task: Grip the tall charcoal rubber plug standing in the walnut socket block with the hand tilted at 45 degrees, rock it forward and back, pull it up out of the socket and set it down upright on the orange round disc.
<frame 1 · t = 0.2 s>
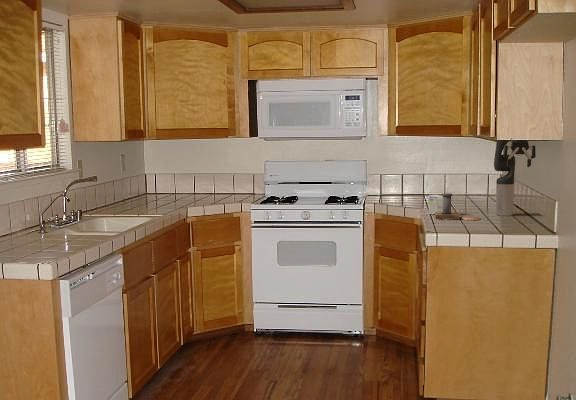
hand: (518, 167, 303), 29 cm above the worktop, tool pointing down, fingers open, 8 cm apart
plug: (446, 206, 340), in the header
orange round disc: (470, 219, 335), on the worktop
header: (446, 218, 340), on the worktop
light bulb box: (439, 214, 357), on the worktop
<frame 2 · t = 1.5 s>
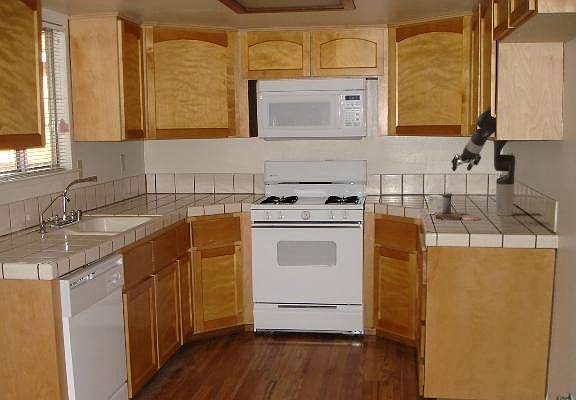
hand: (460, 169, 325), 27 cm above the worktop, tool tilted 45°, fingers open, 8 cm apart
nothing on the worktop moved.
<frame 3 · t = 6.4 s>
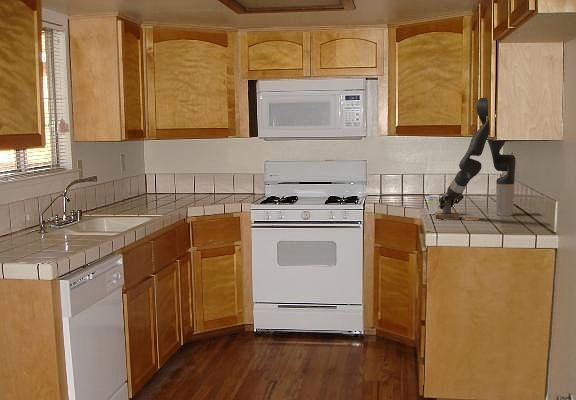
hand: (444, 207, 341), 6 cm above the worktop, tool tilted 45°, fingers closed on plug, 4 cm apart
plug: (446, 206, 340), in the header, touching gripper
everything else where it was.
when the fingers open (8 cm above the worktop, at t = 12.1 s): plug drops 1 cm, resting on orange round disc.
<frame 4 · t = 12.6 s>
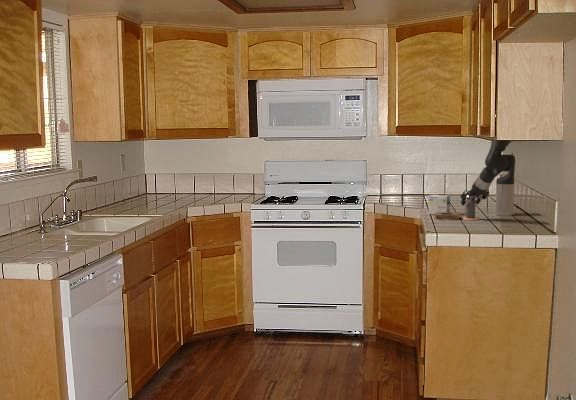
hand: (469, 203, 336), 8 cm above the worktop, tool tilted 45°, fingers open, 8 cm apart
plug: (470, 205, 334), on the orange round disc, point 7 cm above the worktop
everything else where it was.
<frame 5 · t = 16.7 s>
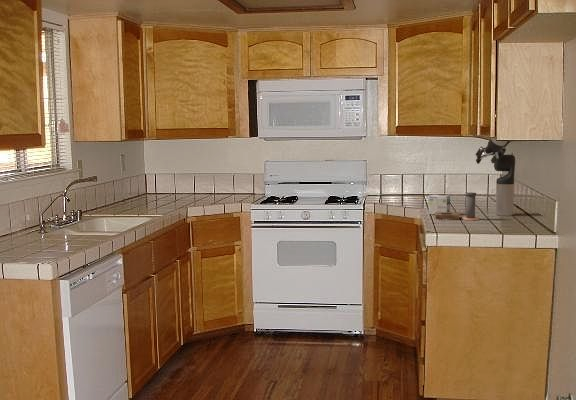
hand: (484, 162, 320), 31 cm above the worktop, tool tilted 45°, fingers open, 8 cm apart
nothing on the worktop moved.
at the end: plug 0.1 cm from the orange round disc (horizontally); plug tilted 0°; the gripper is holding nothing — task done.
